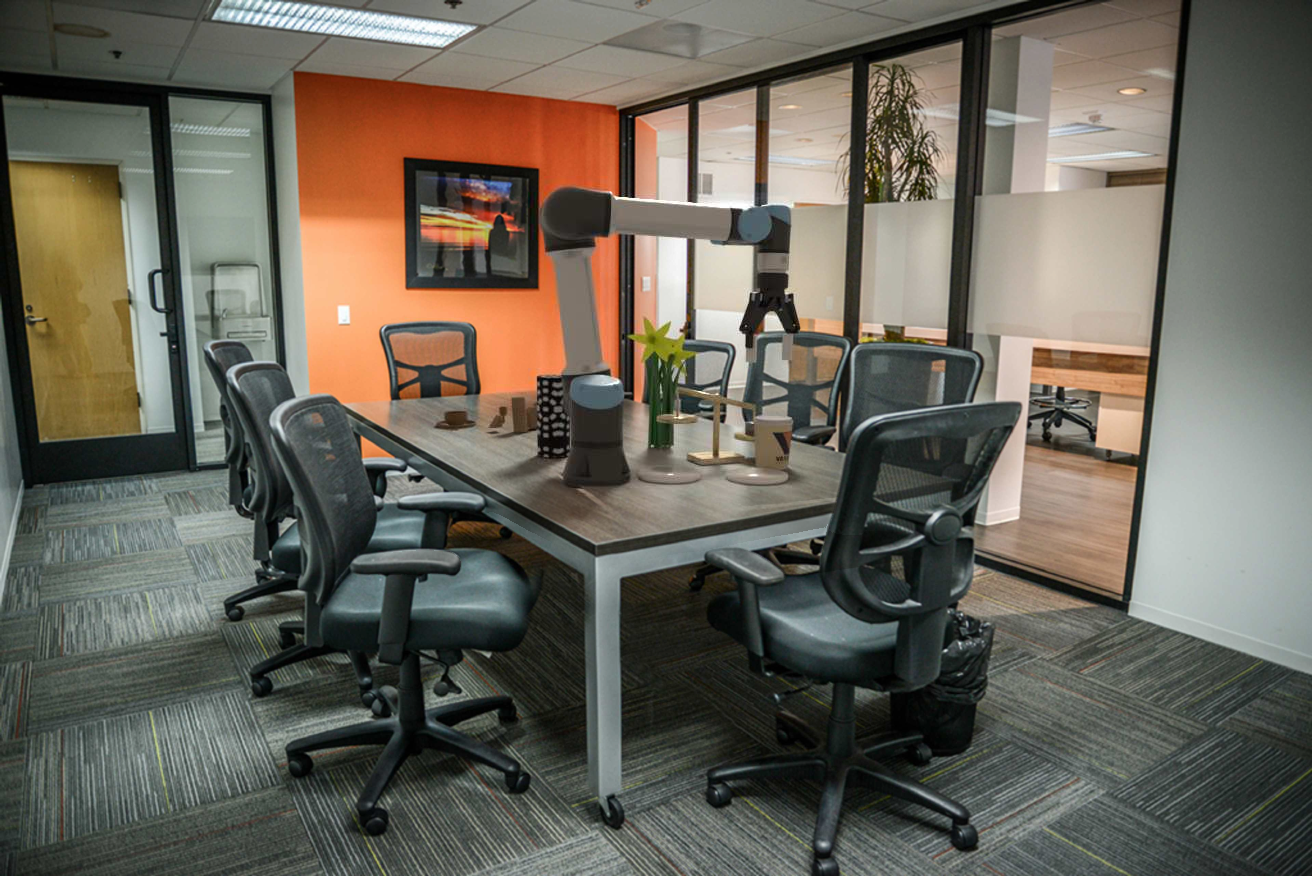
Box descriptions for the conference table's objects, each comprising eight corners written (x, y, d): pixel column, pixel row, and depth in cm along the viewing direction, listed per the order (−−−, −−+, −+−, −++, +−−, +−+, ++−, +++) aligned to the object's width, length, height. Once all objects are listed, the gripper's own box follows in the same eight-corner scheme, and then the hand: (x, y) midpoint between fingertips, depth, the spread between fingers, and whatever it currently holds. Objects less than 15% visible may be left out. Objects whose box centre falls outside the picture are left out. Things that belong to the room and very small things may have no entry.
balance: (666, 468, 211) (667, 389, 208) (649, 461, 220) (650, 385, 217) (780, 459, 224) (782, 385, 221) (760, 453, 233) (762, 381, 230)
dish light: (653, 485, 193) (653, 481, 193) (629, 473, 205) (629, 469, 205) (711, 480, 198) (711, 476, 198) (684, 469, 211) (684, 464, 211)
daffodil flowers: (665, 441, 250) (666, 315, 244) (703, 448, 240) (705, 316, 234) (619, 447, 239) (620, 315, 233) (657, 455, 228) (659, 317, 222)
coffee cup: (779, 472, 208) (781, 421, 206) (745, 467, 214) (746, 417, 212) (798, 466, 216) (800, 417, 214) (764, 461, 221) (766, 413, 219)
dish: (744, 486, 193) (744, 482, 193) (714, 474, 205) (714, 470, 205) (799, 481, 198) (800, 477, 198) (767, 470, 211) (767, 465, 211)
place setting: (448, 423, 283) (448, 404, 282) (509, 425, 280) (509, 406, 279) (426, 431, 266) (425, 411, 265) (491, 433, 263) (490, 413, 262)
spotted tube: (531, 455, 226) (530, 377, 222) (547, 450, 233) (546, 374, 230) (560, 458, 223) (560, 378, 219) (575, 453, 230) (575, 375, 227)
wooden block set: (540, 426, 274) (537, 393, 273) (556, 428, 267) (553, 394, 266) (488, 433, 262) (485, 398, 261) (504, 435, 256) (501, 399, 254)
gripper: (750, 270, 202) (747, 364, 205) (817, 273, 219) (813, 360, 222) (726, 270, 207) (723, 362, 210) (792, 273, 224) (789, 358, 227)
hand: (769, 361), depth 216 cm, fingers open, 13 cm apart
